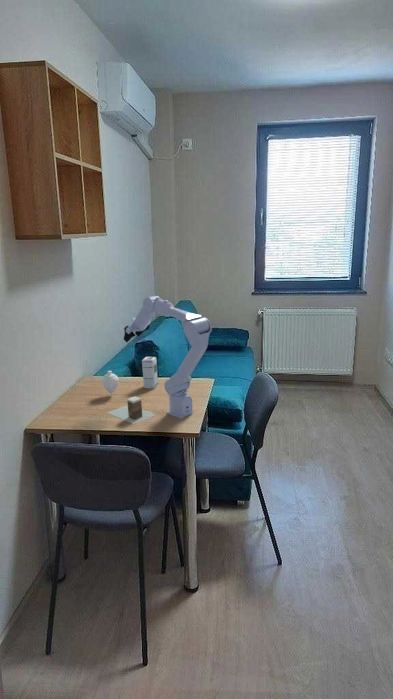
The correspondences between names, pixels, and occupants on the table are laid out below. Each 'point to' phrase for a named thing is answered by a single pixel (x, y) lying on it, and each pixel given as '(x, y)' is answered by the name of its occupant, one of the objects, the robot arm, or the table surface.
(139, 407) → the brown and white block
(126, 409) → the sage mat
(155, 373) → the syrup box
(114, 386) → the spinning top
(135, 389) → the table surface
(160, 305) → the robot arm
